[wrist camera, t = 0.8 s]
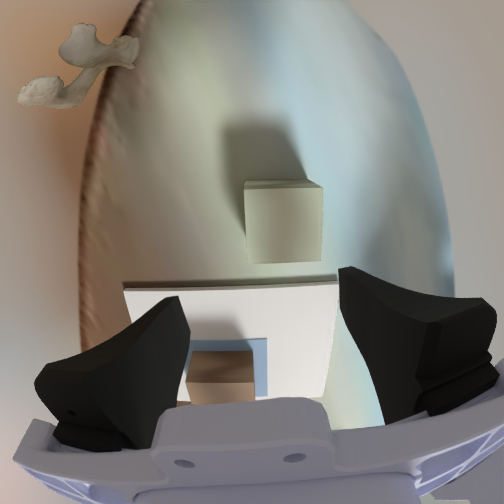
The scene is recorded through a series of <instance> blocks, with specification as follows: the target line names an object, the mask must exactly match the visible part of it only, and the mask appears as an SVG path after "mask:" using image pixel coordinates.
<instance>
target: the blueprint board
mask: <svg viewBox="0 0 504 504" xmlns="http://www.w3.org/2000/svg"><path fill="white" fill-rule="evenodd" d="M123 292H124V296H125V300H126V303H127V307H128V310H129V314H130V317H131V321H132V323H133V322H135V321H136V320H137V319H138V318H140V317H141V316H142V315H143V314H145V313H146V312H147V311H148V310H149V309H151V308H152V307H153V306H154V305H156V304H157V303H158V302H159V301H161V300H162V299H164V298H165V297H171V296H179V299H180V302H181V305H182V308H183V311H184V314H185V317H186V320H187V322H188V325H189V328H190V331H191V335H190V345H189V351H188V355H187V359H186V363H185V367H184V370H183V374H182V378H181V382H180V386H179V390H178V396H177V400H179V401H191V400H190V397H189V394H188V390H187V387H186V384H185V380H186V376H187V372H188V368H189V363H190V359H191V355H192V351H249V350H253V358H254V377H255V400H263V399H271V398H278V397H305V398H312V397H320V396H323V392H324V387H325V382H326V377H327V371H328V366H329V360H330V354H331V348H332V342H333V335H334V328H335V321H336V314H337V306H338V298H339V282H338V281H326V282H310V283H292V284H272V285H250V286H222V287H183V288H126V289H125V290H124V291H123Z"/></svg>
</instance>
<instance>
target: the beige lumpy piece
mask: <svg viewBox="0 0 504 504" xmlns="http://www.w3.org/2000/svg"><path fill="white" fill-rule="evenodd" d="M139 50H140V43H139V38H136V37H132V36H127V35H125V36H122V37H118V36H116V38H115V39H114V40H113V42H112V43H111V45H105V44H103V43H101V42H100V41H99V40H98V39H97V37H96V27H95V25H92V24H89V25H86V24H84V23H79V24H78V25H74V26H73V31H72V34H71V36H70V37H69V38H68V39H67V40H66V41H65V42H64V43H63V44H62V45H61V46H60V48H59V55H60V56H61V58H62V59H63V60H64V61H66V62H67V63H69V64H71V65H74V66H78V67H83V68H84V69H83V71H82V72H81V74H80V75H79V76H78V77H77V78H76V79H75V80H74V81H73V82H72V83H71V84H70V85H68V86H66V87H65V88H63V86H64V82H63V81H62V80H61V79H60V77H59V76H53V77H45V76H42V77H38V78H36V79H33V80H32V81H30V82H29V83H28V85H25V86H23V88H22V89H21V91H20V92H18V93H17V101H18V102H19V103H21V104H24V105H27V106H35V105H38V104H39V105H46V106H50V107H53V108H58V109H65V108H70V107H75V106H77V105H79V104H81V103H82V102H83V99H84V98H85V96H86V94H87V92H88V91H89V89H90V87H91V86H92V84H93V83H94V81H95V79H96V78H97V76H98V74H99V73H100V72H101V71H102V70H103V69H105V68H106V67H109V66H123V67H126V68H128V69H134V68H135V66H134V64H132V63H133V62H134V61H135V59H136V58H137V56H138V54H139Z"/></svg>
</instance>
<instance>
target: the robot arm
mask: <svg viewBox="0 0 504 504" xmlns="http://www.w3.org/2000/svg"><path fill="white" fill-rule="evenodd" d="M338 274H339V298H340V310H341V313H342V315H343V318H344V321H345V324H346V326H347V328H348V330H349V332H350V333H351V335H352V337H353V339H354V341H355V343H356V345H357V347H358V349H359V350H360V352H361V354H362V356H363V358H364V360H365V362H366V365H367V367H368V369H369V372H370V375H371V378H372V381H373V384H374V387H375V390H376V393H377V396H378V400H379V403H380V407H381V410H382V414H383V418H384V422H385V425H383V426H375V427H366V428H356V429H343V430H331V428H330V424H329V420H328V415H327V413H326V411H325V409H324V407H323V405H322V404H321V403H319V402H316V401H313V400H310V399H308V398H305V397H278V398H271V399H263V400H255V401H246V402H236V403H224V404H209V405H186V406H181V407H176V404H177V396H178V390H179V386H180V382H181V378H182V374H183V370H184V367H185V363H186V359H187V355H188V351H189V345H190V335H191V331H190V328H189V325H188V322H187V320H186V317H185V314H184V311H183V308H182V305H181V302H180V299H179V296H171V297H165V298H164V299H162V300H161V301H159V302H158V303H157V304H156V305H154V306H153V307H152V308H151V309H149V310H148V311H147V312H146V313H145V314H143V315H142V316H141V317H140V318H138V319H137V320H136V321H135V322H133V323H132V324H131V325H129V326H128V327H127V328H125V329H124V330H123V331H121V332H120V333H118V334H117V335H115V336H113V337H112V338H110V339H109V340H107V341H105V342H103V343H101V344H99V345H97V346H95V347H93V348H92V349H90V350H87V351H85V352H83V353H80V354H78V355H75V356H72V357H69V358H67V359H63V360H59V361H56V362H52V363H48V364H46V365H45V367H44V368H43V369H42V371H41V372H40V374H39V375H38V376H37V378H36V379H35V382H34V386H35V390H36V392H37V394H38V396H39V398H40V399H41V401H42V402H43V403H44V404H45V406H46V407H47V408H48V409H49V410H50V412H51V413H52V414H53V415H54V416H55V417H56V419H57V420H58V421H59V423H58V425H57V426H54V425H53V424H51V423H48V422H45V421H41V420H38V419H33V421H32V422H31V424H30V426H29V428H28V430H27V431H26V433H25V435H24V437H23V439H22V441H21V443H20V445H19V447H18V449H17V451H16V453H15V454H14V456H13V460H14V461H15V462H16V463H17V464H18V465H19V466H20V467H22V468H23V469H24V470H25V471H27V472H28V473H29V474H30V475H31V476H33V477H34V478H35V479H37V480H38V481H39V482H41V483H42V484H43V485H45V486H46V487H47V488H49V489H50V490H52V491H54V492H56V493H58V494H61V495H63V496H65V497H68V498H70V499H72V500H74V501H77V502H79V503H82V504H421V502H420V499H419V497H421V496H422V495H425V494H427V493H429V492H430V493H431V495H432V496H433V497H434V498H435V500H440V501H458V500H459V501H462V500H465V501H470V503H471V504H504V359H502V360H500V361H499V362H498V363H497V365H495V367H493V365H492V364H491V363H490V361H491V359H492V356H491V354H490V353H489V352H488V348H489V346H490V343H491V340H492V337H493V335H494V332H495V328H496V324H497V314H496V311H495V309H494V308H493V307H492V306H490V305H489V304H488V303H487V302H486V301H485V300H484V299H483V298H451V297H440V296H434V295H428V294H423V293H419V292H415V291H411V290H408V289H404V288H401V287H398V286H396V285H393V284H391V283H388V282H386V281H383V280H381V279H379V278H377V277H374V276H372V275H370V274H368V273H366V272H364V271H362V270H360V269H357V268H355V267H352V266H350V267H345V268H340V269H338Z"/></svg>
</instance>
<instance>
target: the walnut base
mask: <svg viewBox="0 0 504 504" xmlns="http://www.w3.org/2000/svg"><path fill="white" fill-rule="evenodd" d="M185 384H186V387H187V390H188V394H189V397H190V400H191V403H192V405H209V404H224V403H236V402H246V401H255V377H254V358H253V350H249V351H192V355H191V359H190V363H189V368H188V372H187V376H186V380H185Z"/></svg>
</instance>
